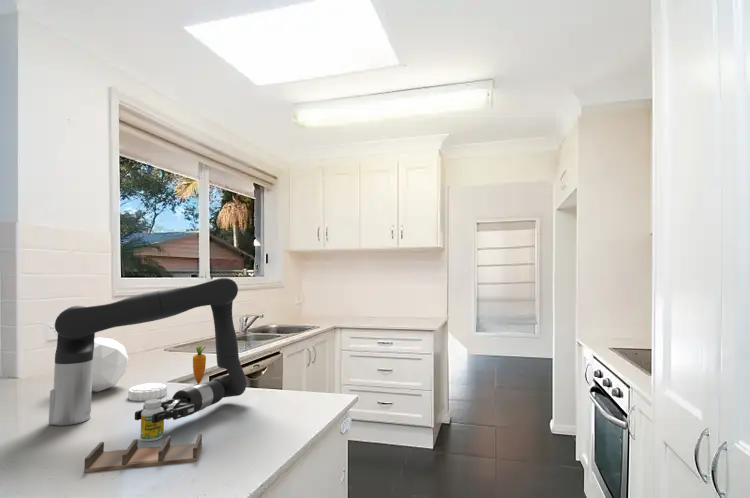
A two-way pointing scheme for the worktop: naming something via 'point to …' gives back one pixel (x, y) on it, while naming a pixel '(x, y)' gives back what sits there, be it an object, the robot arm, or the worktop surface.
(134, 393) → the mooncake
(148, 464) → the slot rack
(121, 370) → the ball
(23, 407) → the worktop surface
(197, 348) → the carrot
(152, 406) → the supplement bottle
